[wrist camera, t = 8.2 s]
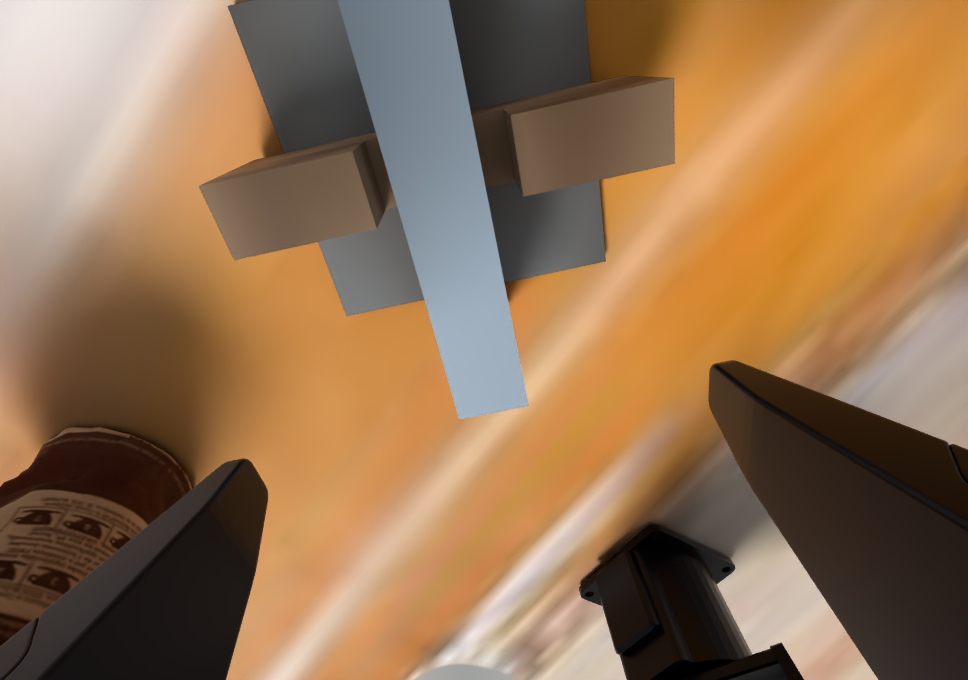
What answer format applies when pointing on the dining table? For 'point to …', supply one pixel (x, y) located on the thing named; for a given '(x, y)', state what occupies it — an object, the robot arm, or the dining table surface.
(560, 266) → the slotted base
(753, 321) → the dining table surface
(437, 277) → the pale blue slat
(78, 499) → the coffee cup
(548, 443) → the dining table surface
